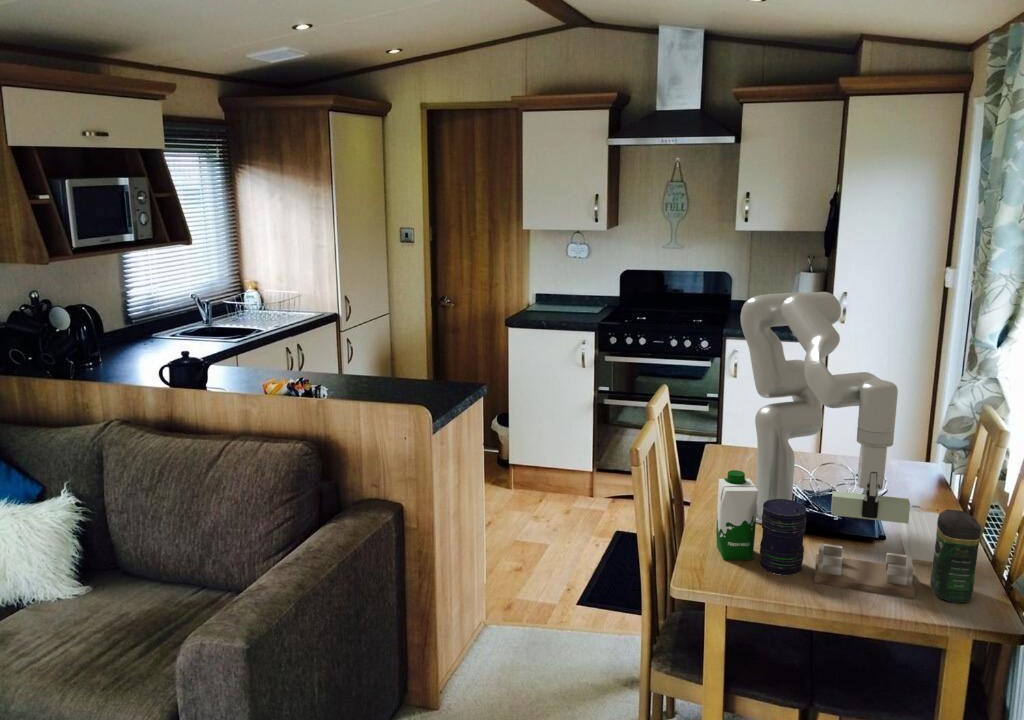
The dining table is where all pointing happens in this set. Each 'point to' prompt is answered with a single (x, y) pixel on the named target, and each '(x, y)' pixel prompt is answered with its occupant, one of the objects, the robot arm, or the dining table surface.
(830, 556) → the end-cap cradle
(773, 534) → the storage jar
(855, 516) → the pale green long block
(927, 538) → the baseboard molding
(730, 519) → the milk carton
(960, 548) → the coffee jar
